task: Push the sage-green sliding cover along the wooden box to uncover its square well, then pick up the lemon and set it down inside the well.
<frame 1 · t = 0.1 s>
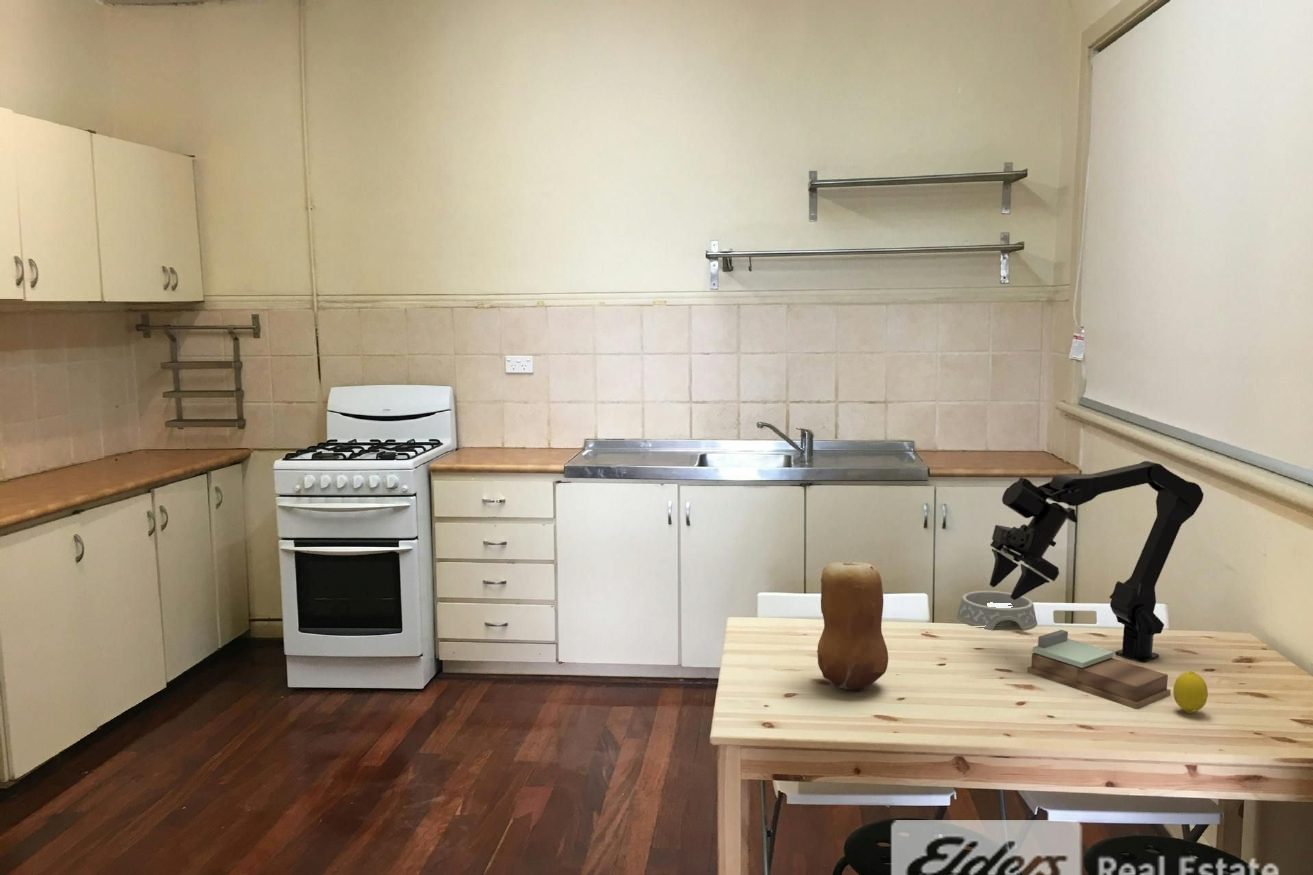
hand: (1001, 592, 207), 15 cm above the table, tool tilted 30°, fingers open, 9 cm apart
slide cover: (1073, 647, 200), point 6 cm above the table, slide at 0.0 cm
wooden box: (1096, 683, 197), on the table
lemon: (1188, 714, 182), on the table
dog bowl: (996, 621, 238), on the table
butternut squash: (850, 688, 194), on the table
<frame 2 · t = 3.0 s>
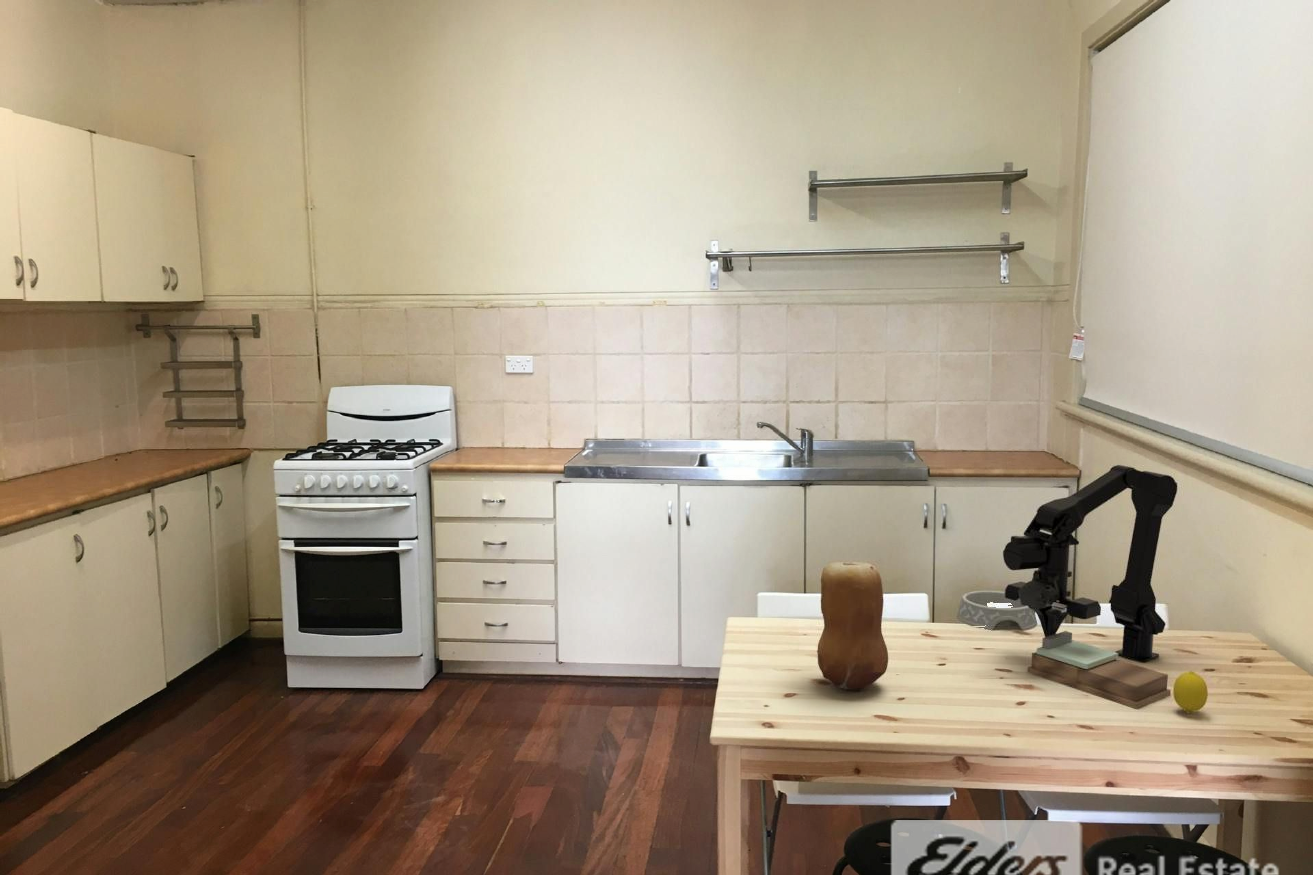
hand: (1049, 640, 205), 6 cm above the table, tool pointing down, fingers closed
slide cover: (1077, 648, 200), point 6 cm above the table, slide at 1.0 cm, touching gripper
everything else where it was.
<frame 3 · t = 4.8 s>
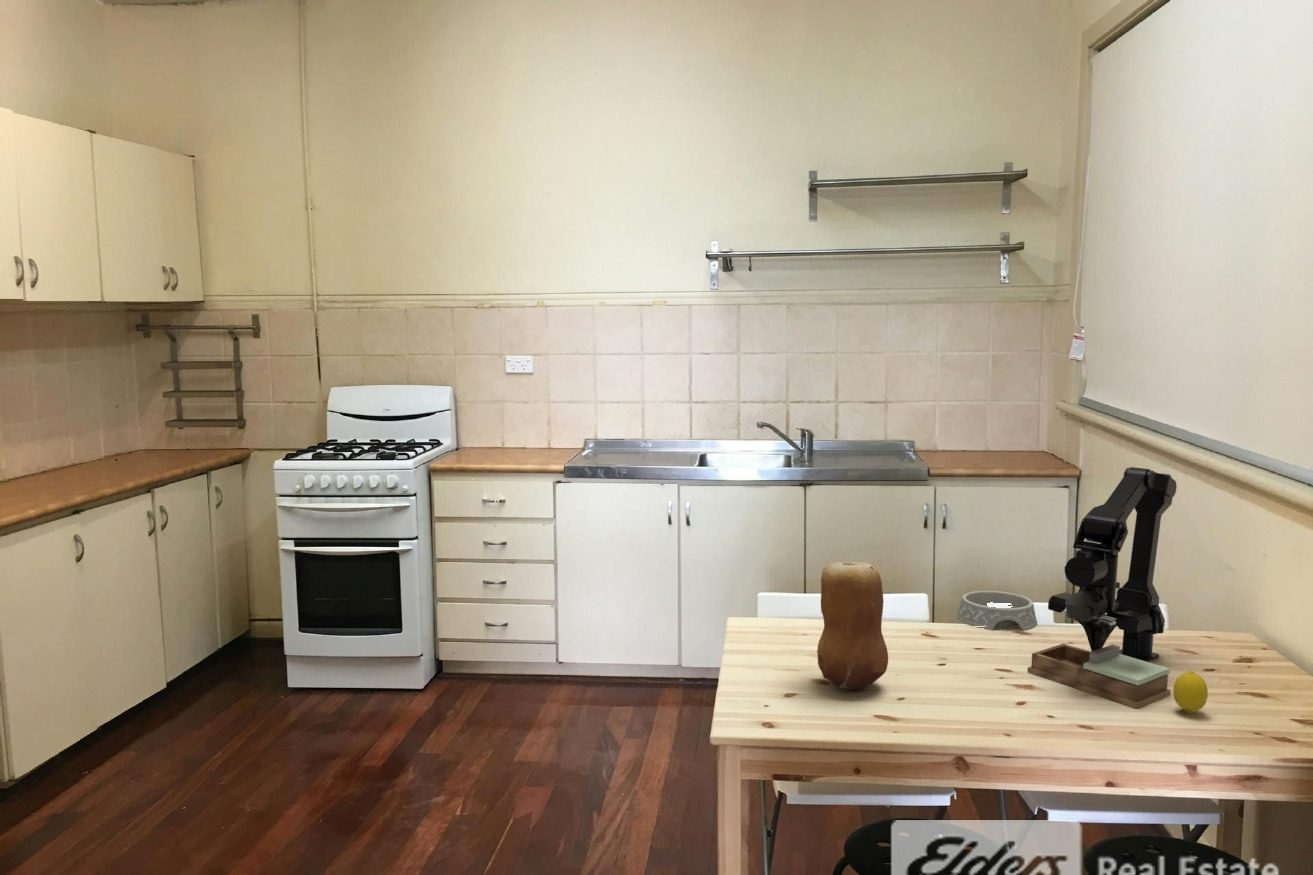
hand: (1095, 653, 196), 6 cm above the table, tool pointing down, fingers closed
slide cover: (1126, 663, 191), point 6 cm above the table, slide at 11.2 cm, touching gripper
everything else where it was.
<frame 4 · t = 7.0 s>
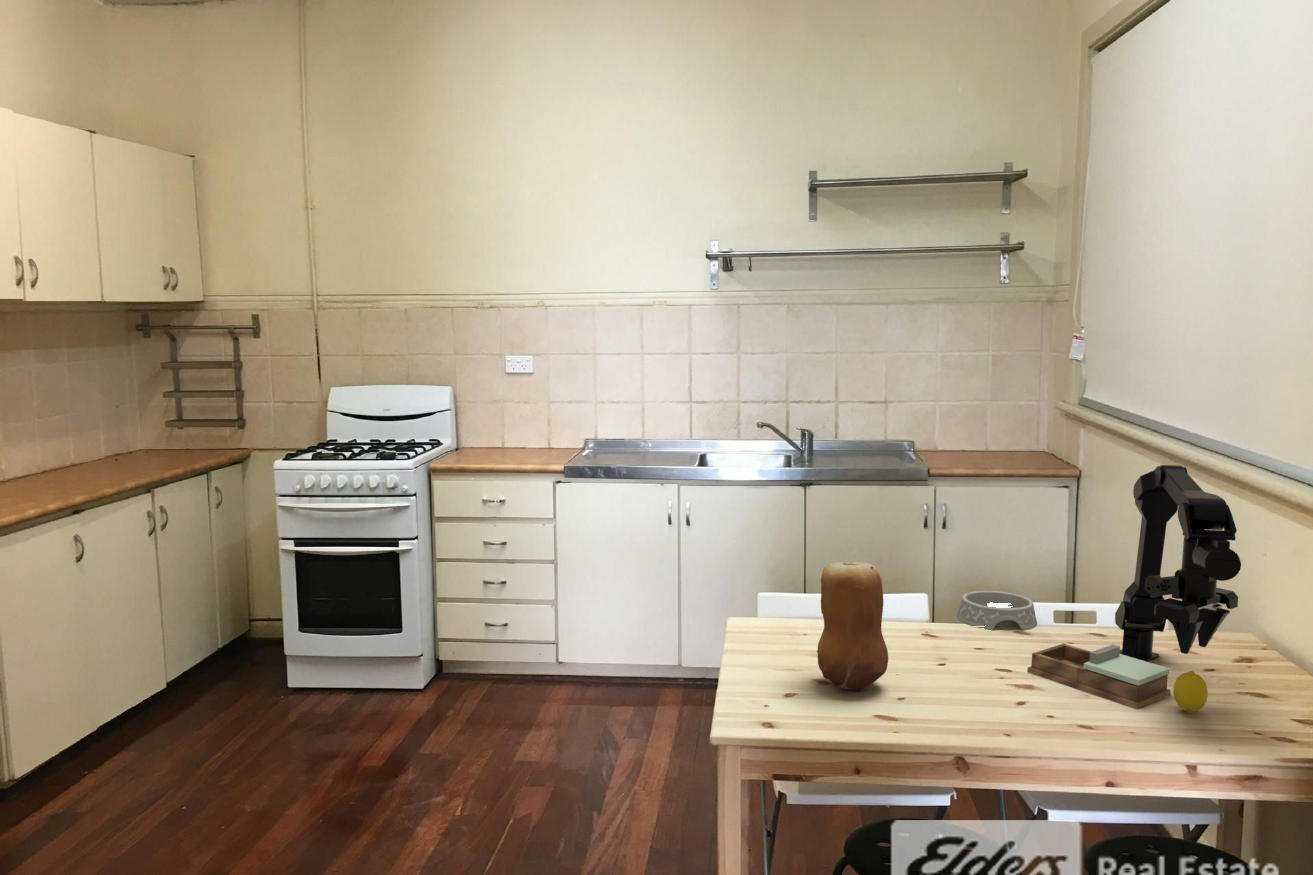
hand: (1193, 649, 181), 12 cm above the table, tool pointing down, fingers open, 6 cm apart
slide cover: (1126, 663, 191), point 6 cm above the table, slide at 11.3 cm
everything else where it was.
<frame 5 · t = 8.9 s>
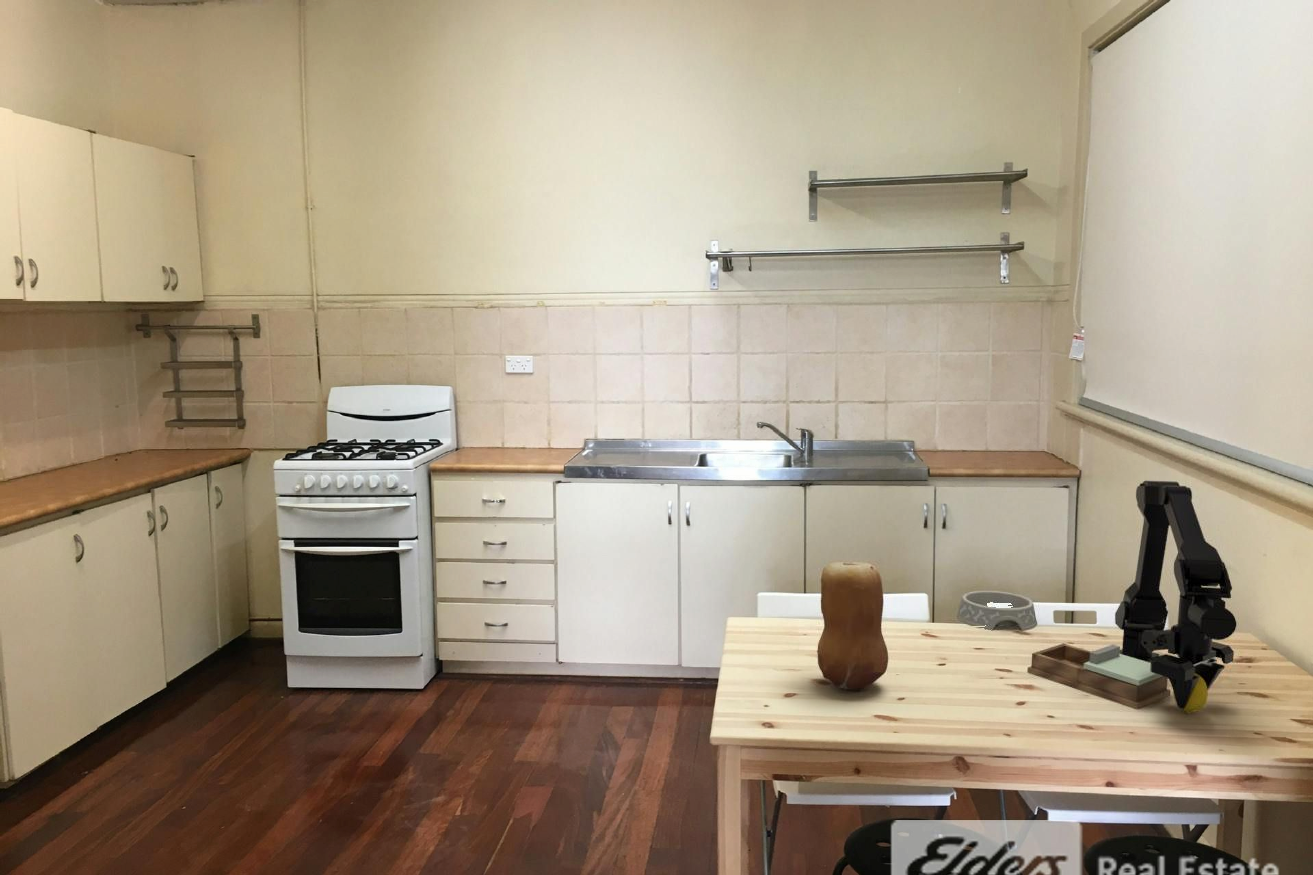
hand: (1189, 704, 182), 2 cm above the table, tool pointing down, fingers closed on lemon, 5 cm apart
lemon: (1188, 714, 182), on the table, touching gripper
everything else where it was.
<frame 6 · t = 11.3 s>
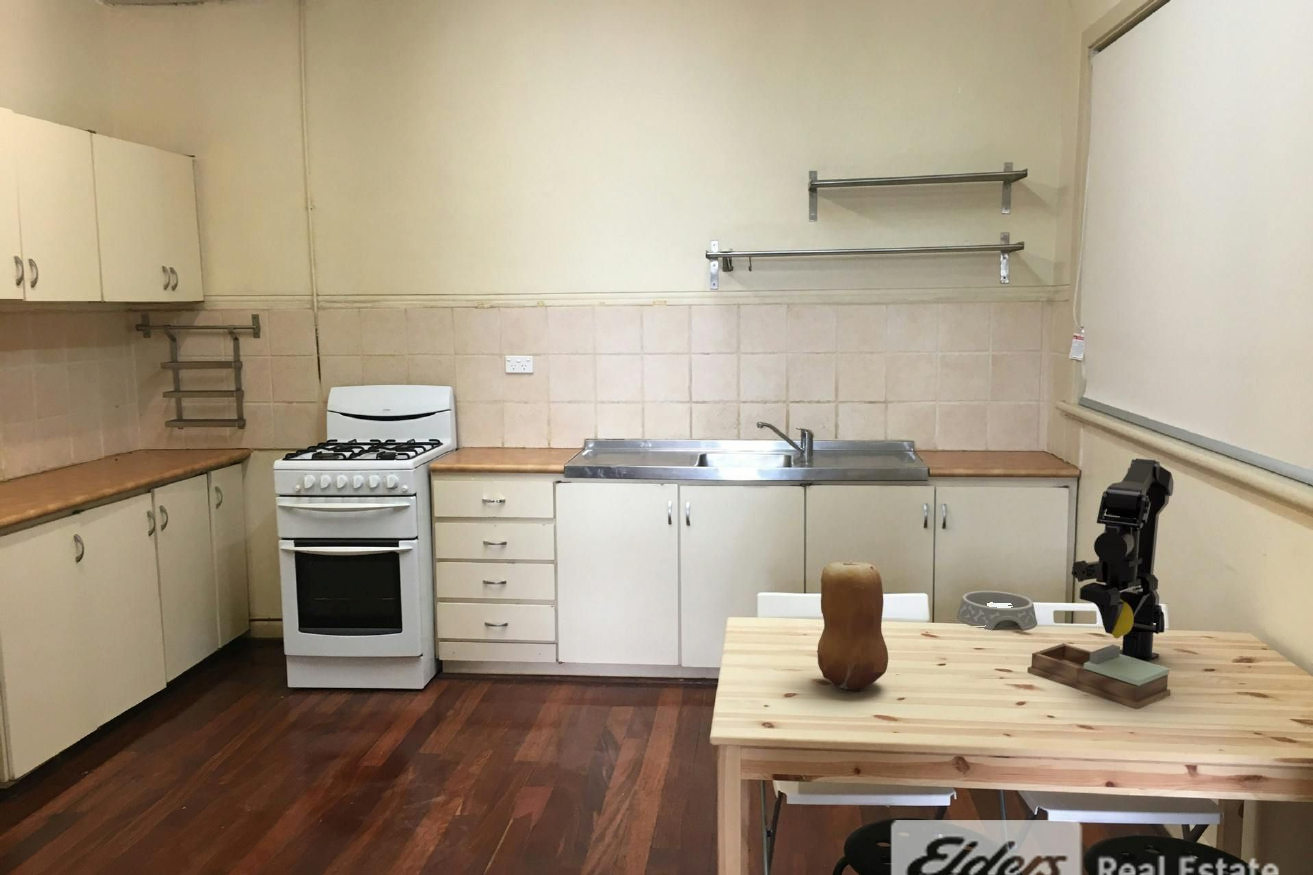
hand: (1116, 630, 193), 12 cm above the table, tool pointing down, fingers closed on lemon, 5 cm apart
lemon: (1116, 639, 193), point 10 cm above the table, touching gripper
everything else where it was.
when the fingers open (5 cm above the table, at t = 13.6 s): lemon drops 2 cm, resting on wooden box.
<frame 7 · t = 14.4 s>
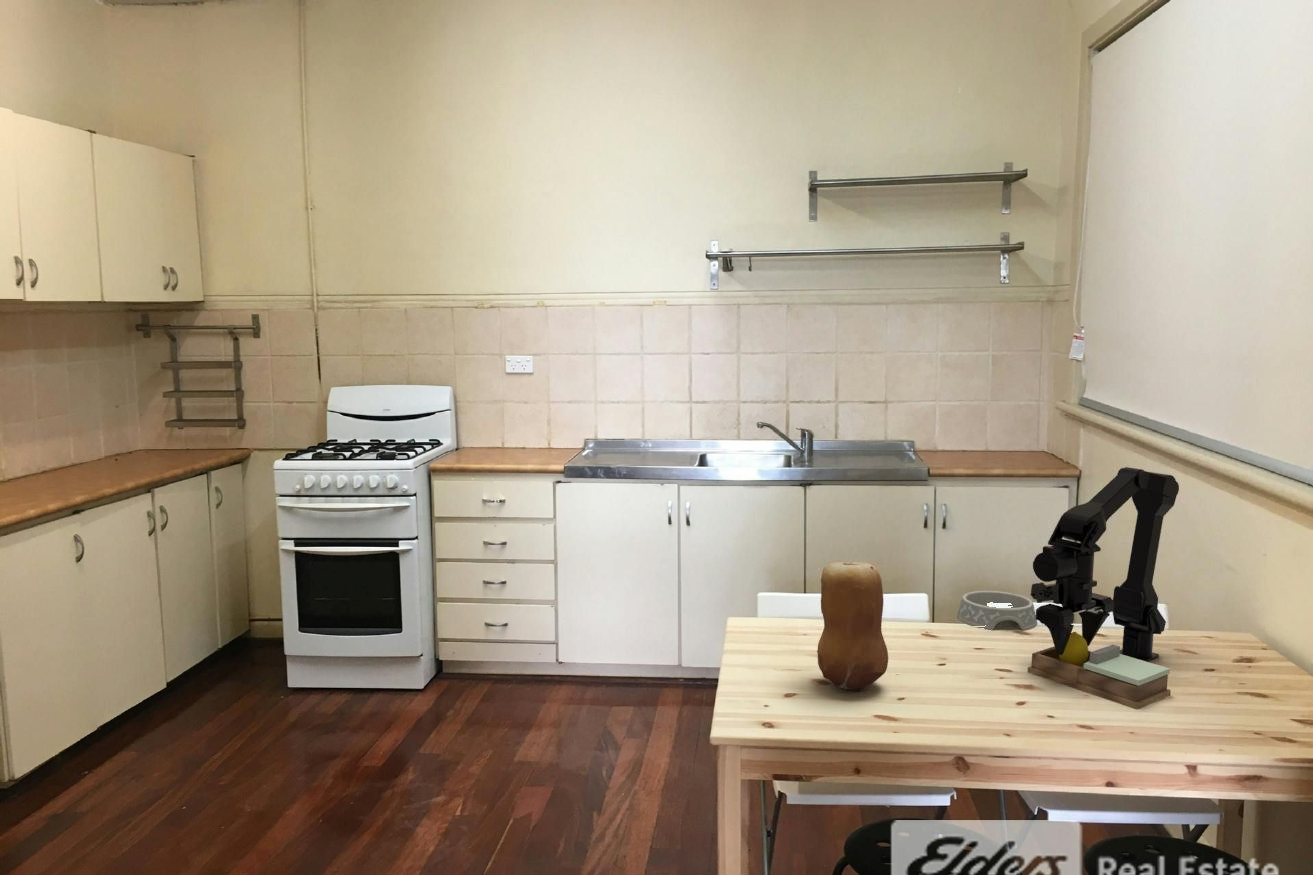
hand: (1072, 650, 201), 5 cm above the table, tool pointing down, fingers open, 9 cm apart
lemon: (1072, 670, 201), point 1 cm above the table, touching wooden box
everything else where it was.
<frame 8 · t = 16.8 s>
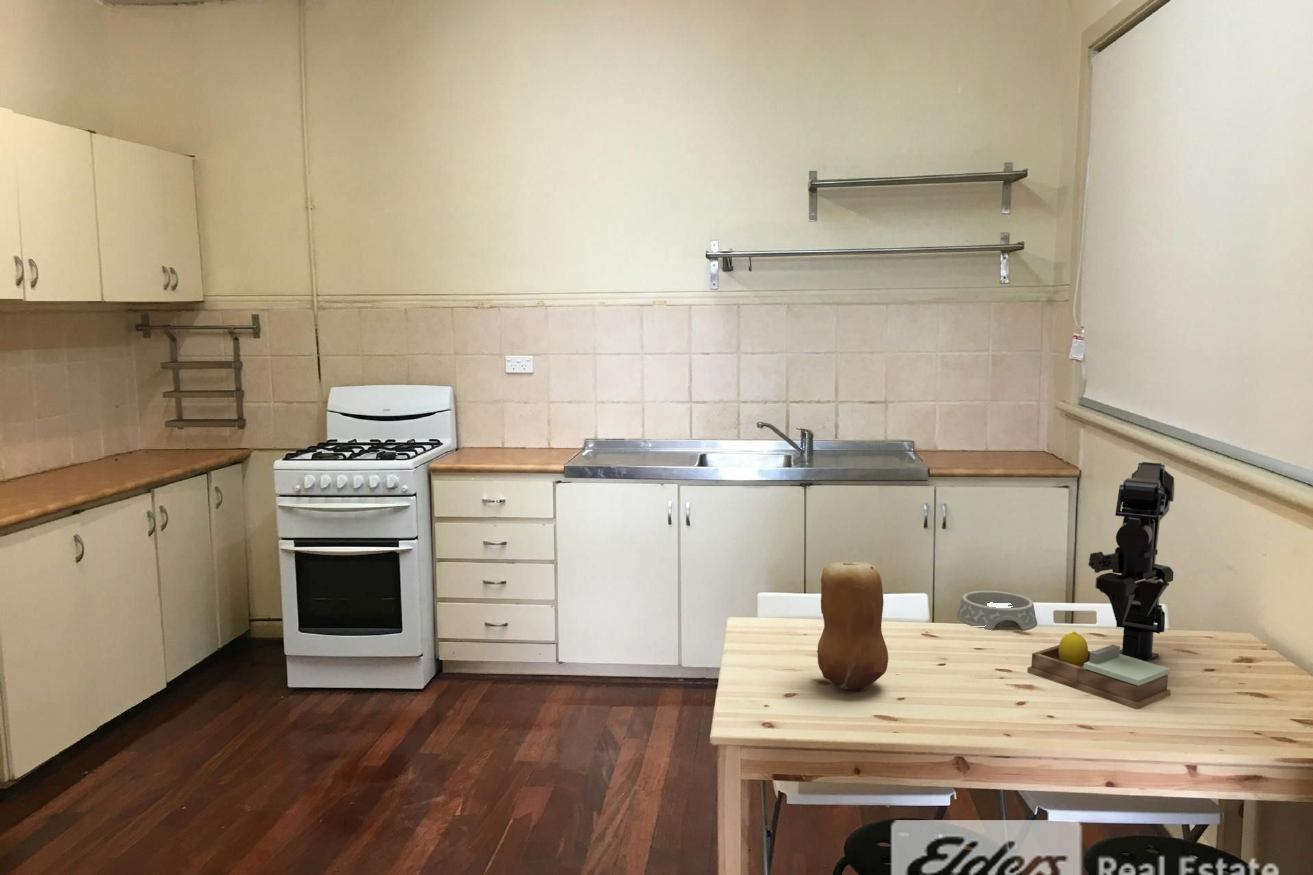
hand: (1132, 619, 198), 12 cm above the table, tool pointing down, fingers open, 9 cm apart
nothing on the table moved.
at the end: slide cover slide at 11.3 cm; lemon inside the target area on the wooden box (0.1 cm from its centre), point 0.8 cm above the wooden box's base; the gripper is holding nothing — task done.
